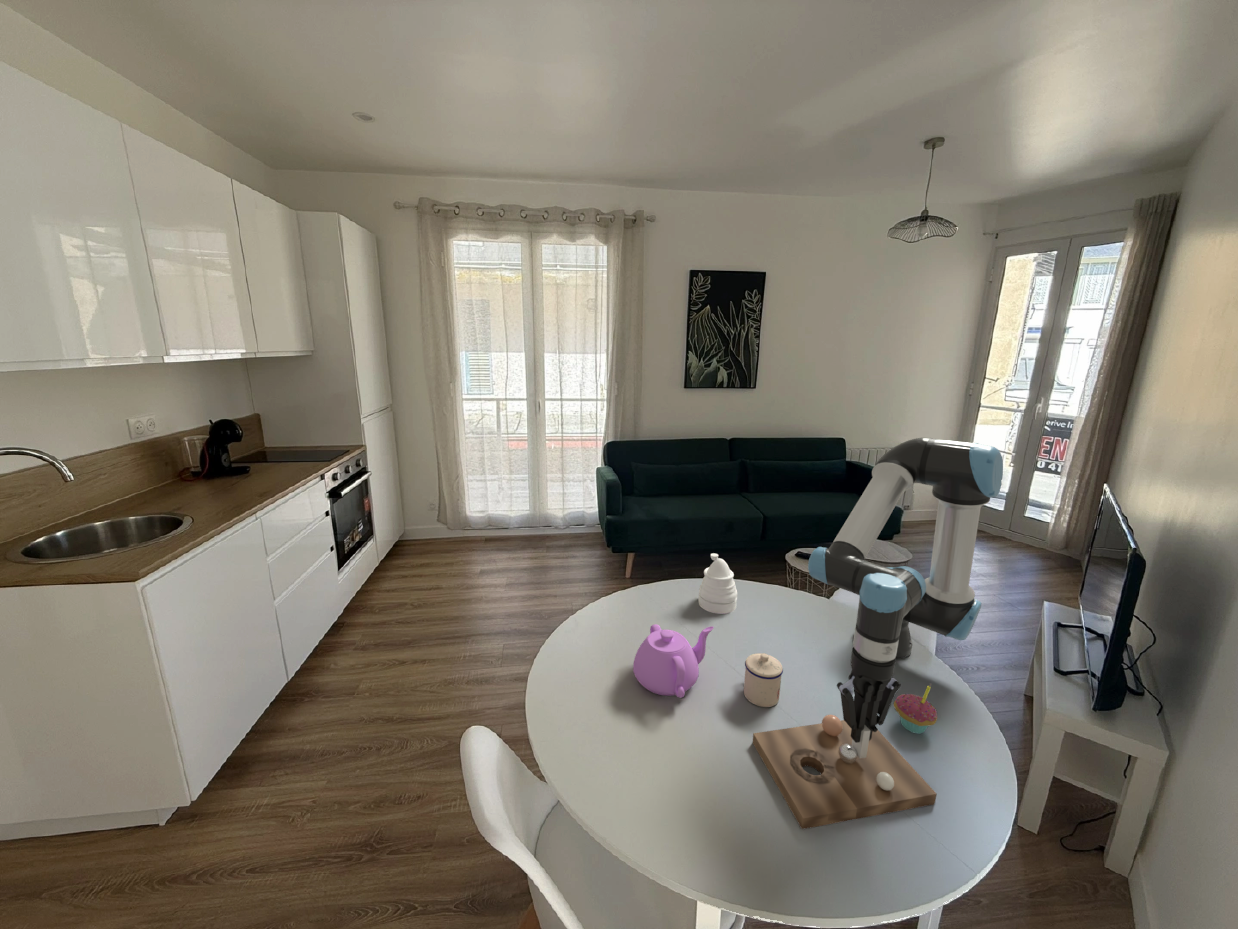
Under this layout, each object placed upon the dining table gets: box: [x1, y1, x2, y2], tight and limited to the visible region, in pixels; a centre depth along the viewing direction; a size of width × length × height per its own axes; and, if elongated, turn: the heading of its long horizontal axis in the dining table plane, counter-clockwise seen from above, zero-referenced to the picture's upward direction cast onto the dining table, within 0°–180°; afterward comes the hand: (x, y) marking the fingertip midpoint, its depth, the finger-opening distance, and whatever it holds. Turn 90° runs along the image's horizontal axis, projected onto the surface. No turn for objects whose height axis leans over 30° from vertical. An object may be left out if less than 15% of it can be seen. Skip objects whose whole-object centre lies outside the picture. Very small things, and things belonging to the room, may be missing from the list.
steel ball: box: [838, 744, 857, 764], centre depth 98 cm, size 4×4×4 cm
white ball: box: [876, 772, 894, 791], centre depth 92 cm, size 3×3×3 cm
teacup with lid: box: [743, 653, 784, 708], centre depth 121 cm, size 12×9×12 cm
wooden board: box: [752, 719, 937, 830], centre depth 99 cm, size 28×20×2 cm
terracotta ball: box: [821, 714, 843, 736], centre depth 105 cm, size 4×4×4 cm
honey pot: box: [697, 552, 738, 615], centre depth 162 cm, size 13×13×18 cm
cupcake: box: [893, 683, 938, 734], centre depth 110 cm, size 9×8×12 cm
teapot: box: [632, 623, 715, 698], centre depth 125 cm, size 22×22×14 cm
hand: (858, 752), depth 99 cm, fingers closed
